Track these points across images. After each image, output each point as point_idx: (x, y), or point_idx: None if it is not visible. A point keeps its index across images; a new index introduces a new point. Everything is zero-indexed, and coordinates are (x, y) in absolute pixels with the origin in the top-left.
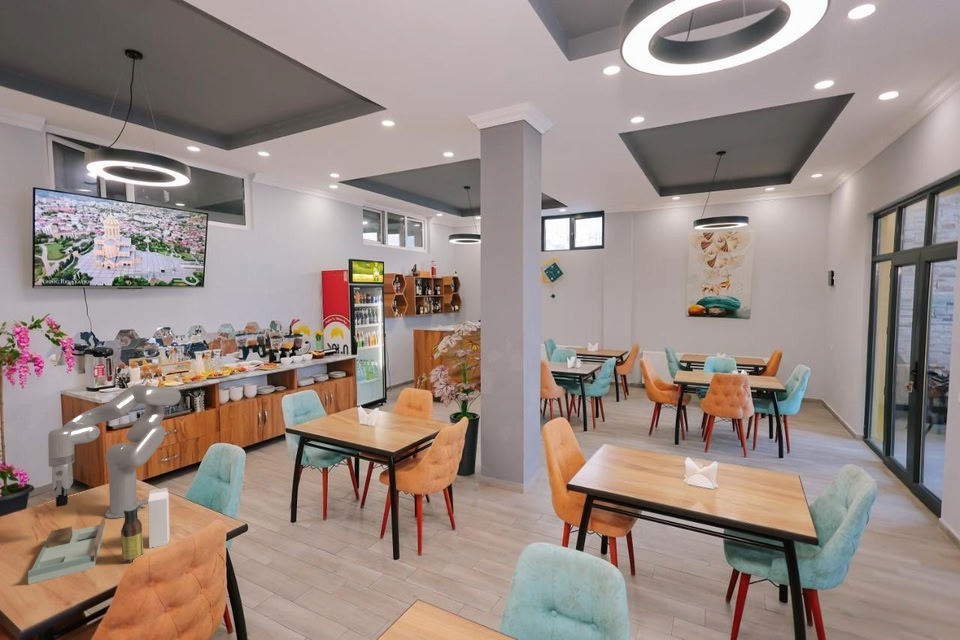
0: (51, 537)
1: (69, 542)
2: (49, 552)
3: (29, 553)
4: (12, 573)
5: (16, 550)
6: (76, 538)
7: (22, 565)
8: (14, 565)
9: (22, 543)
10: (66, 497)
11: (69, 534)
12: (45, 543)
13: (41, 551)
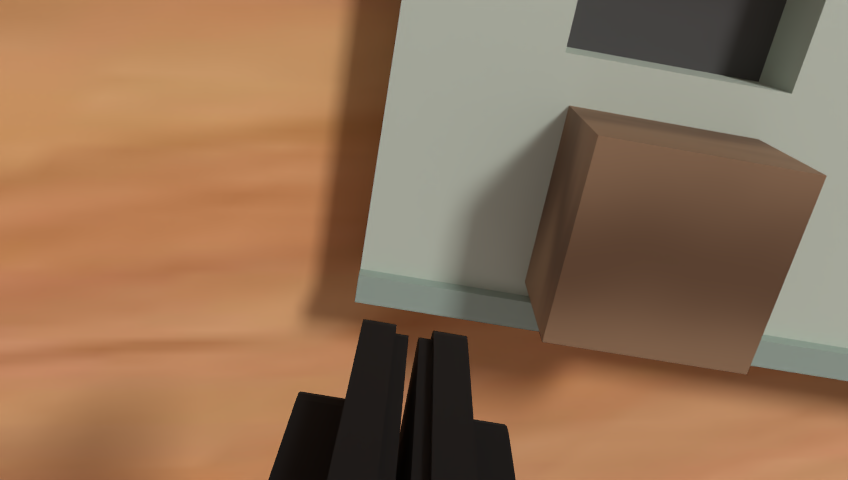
0: (755, 339)
1: (758, 140)
2: (830, 301)
3: (512, 393)
4: (820, 476)
5: None
6: (646, 66)
7: (728, 429)
8: (673, 469)
9: (231, 434)
10: (470, 468)
11: (792, 163)
12: None
13: (774, 363)
